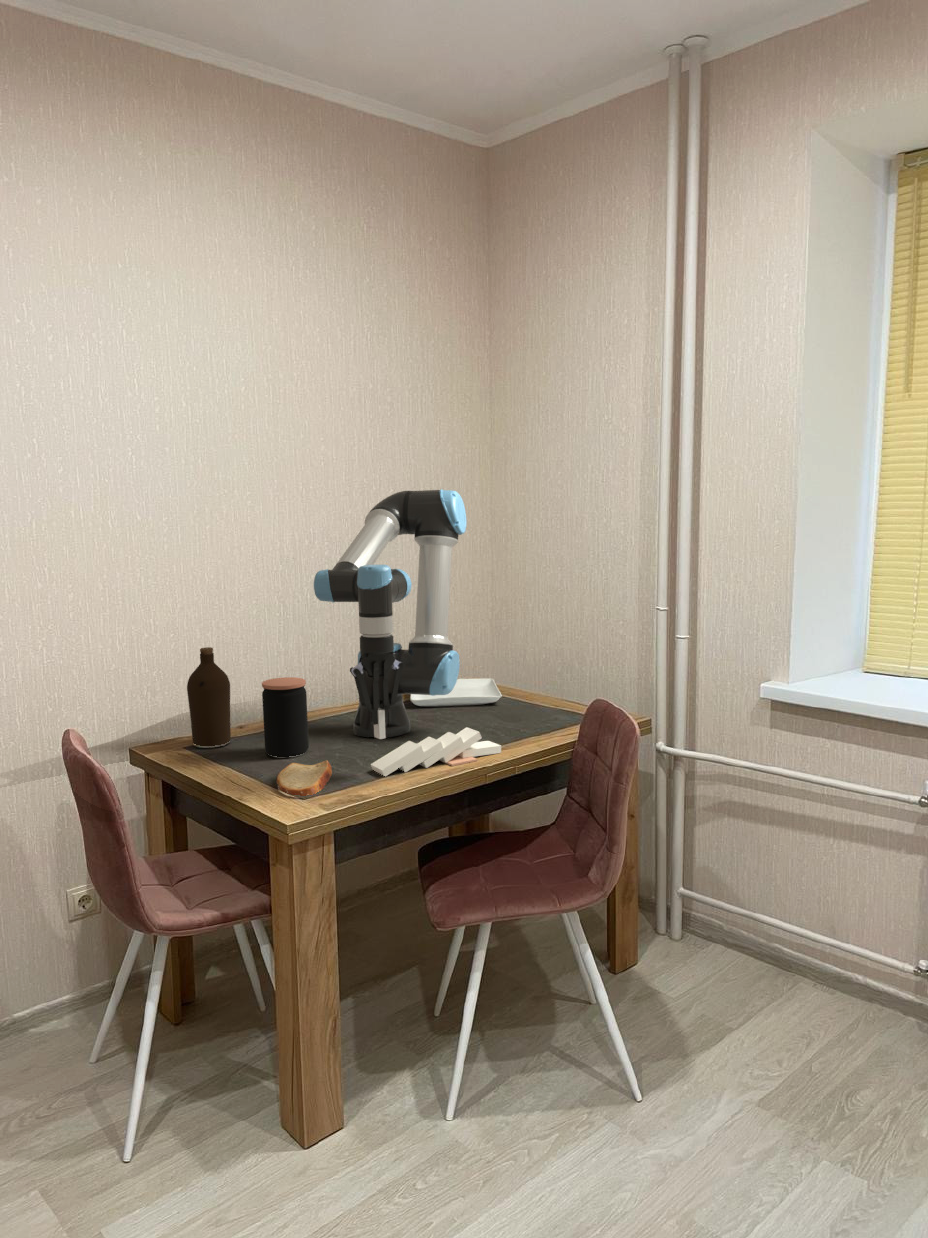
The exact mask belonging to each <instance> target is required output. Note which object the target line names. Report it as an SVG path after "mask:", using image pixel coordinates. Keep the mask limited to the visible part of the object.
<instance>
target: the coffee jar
mask: <svg viewBox="0 0 928 1238" xmlns="http://www.w3.org/2000/svg"><path fill="white" fill-rule="evenodd" d="M306 683H307V682H306V679H304V678H301V677H294V676H293V677H291V676H289V677H276V678H269V679H266V680H264V681H262V682H261V687H262V688H263V690H262V692H261V693H262V694H261V696H262V716H263V736H264V738H263V739H264V751H265V753H266V754H267V755H268V754H269V755H272V756H277V757H289V756H296V755H300V754H303V753H305V752H306V751H308V750H309V747H310V745H309V744H310V743H309V722H308V701H307V700H308V699H307V690H306V688H305V686H306V685H307V684H306ZM306 753H307V752H306ZM306 753H305V754H306Z"/></svg>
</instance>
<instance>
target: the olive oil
mask: <svg viewBox="0 0 928 1238" xmlns="http://www.w3.org/2000/svg"><path fill="white" fill-rule="evenodd" d="M213 648H214V647H211V646H210V647H201V648H200V649H199V652H200V654H199V661H200V662H199V664H198V666H197V667H196V668H195V670H194V671H193V672H192V673H191V674H190V675H189V677H188V680H187V685H186V691H187V692H186V693H187V700H188V707H189V718H190V726H191V727H190V728H191V736H192V737H191V738H192V744H193V743H194V744H196V745H200V746H215V745H221V744H225V743H227V742H229V741H230V740H231V738H232V737H231V736H232V735H231V733H232V732H231V731H232V730H231V683H230V680H229V679H230V678H229V676H228V674H227V673H226V672H225V671H223V670H222V668H220V667H219V666H218V664H216V662H215V653H214V649H213ZM231 741H232V740H231Z"/></svg>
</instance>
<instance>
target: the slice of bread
mask: <svg viewBox="0 0 928 1238" xmlns="http://www.w3.org/2000/svg"><path fill="white" fill-rule="evenodd" d="M332 774H333V771H332V766H331V764H330V762H329V761H328V760H327V759H326V760H324V761H321V762H317V763H314V764H311V765H310V764H302V763H297V762H291V763H289V764H288V765H287V766H285V767H284V768H283V769H281V771H280V772H279V773H278V775H277V777H276V785H277V784H278V785H279V789H280V790H281V791H283V792H285V793H287V794H291V795H300V796H307V795H313V794H316V793H317V792H319V791H321V790H322V789H323V788H324V789H325V787H326V786H327V784H328V783H329V781H330V779H331V777H332ZM327 782H328V783H327ZM326 783H327V784H326ZM278 785H277V786H278ZM325 785H326V786H325ZM324 786H325V787H324ZM324 789H323V790H324Z"/></svg>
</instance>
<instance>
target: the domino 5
mask: <svg viewBox="0 0 928 1238" xmlns="http://www.w3.org/2000/svg"><path fill="white" fill-rule="evenodd" d="M501 753H502V745H501V744H499V743H497V742H496V743H495V742H493V741H490V740H484V741H483V740H482V741H477V742H476V743H474V744H473V745H471V746H470V747H468V748H467V749H466V750H464V751H463V752H461V753H460V754H458V755H457V756H459V757H462V758H467V757H474V758H475V757H479V756H480V757H481V756H489V755H496V754H501Z"/></svg>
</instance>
